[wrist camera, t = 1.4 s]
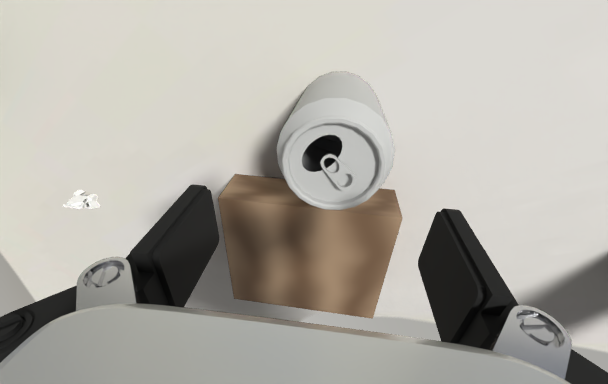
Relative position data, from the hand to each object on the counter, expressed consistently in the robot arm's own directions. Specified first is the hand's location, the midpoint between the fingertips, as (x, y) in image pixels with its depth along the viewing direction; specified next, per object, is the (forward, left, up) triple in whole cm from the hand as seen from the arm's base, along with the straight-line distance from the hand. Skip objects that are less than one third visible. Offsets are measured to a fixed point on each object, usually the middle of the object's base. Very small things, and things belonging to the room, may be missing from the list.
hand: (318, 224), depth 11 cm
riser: (+2, +16, -17) cm, 24 cm away
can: (0, 0, -18) cm, 18 cm away
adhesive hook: (+32, +15, -18) cm, 39 cm away
